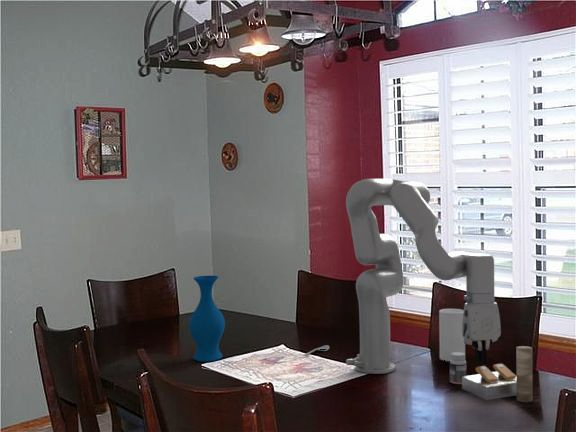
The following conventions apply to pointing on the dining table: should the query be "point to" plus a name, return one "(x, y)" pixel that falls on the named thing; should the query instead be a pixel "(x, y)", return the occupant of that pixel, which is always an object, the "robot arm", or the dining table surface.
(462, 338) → the white tall cylinder
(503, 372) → the paddle
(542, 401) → the dining table surface
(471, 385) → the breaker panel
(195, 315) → the vase
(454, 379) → the pill bottle
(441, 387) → the dining table surface
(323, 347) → the spoon
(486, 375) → the paddle
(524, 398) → the dowel post
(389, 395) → the dining table surface
